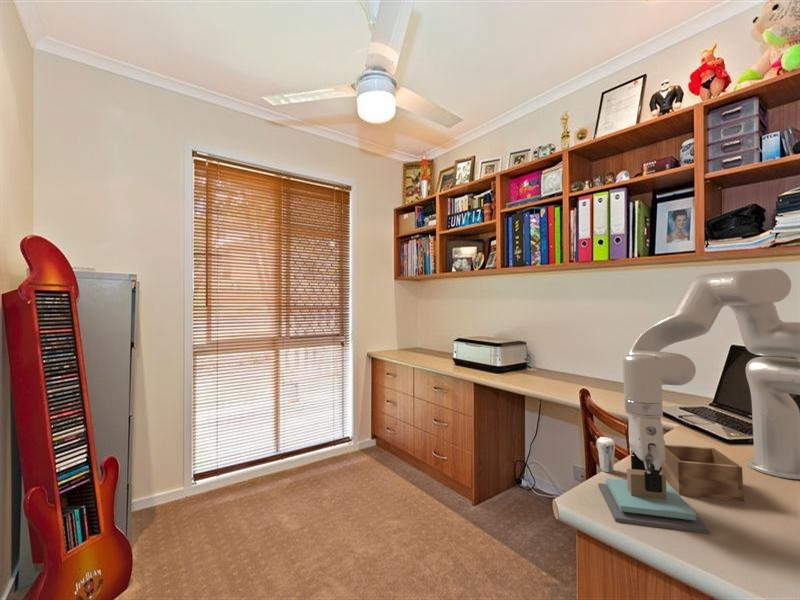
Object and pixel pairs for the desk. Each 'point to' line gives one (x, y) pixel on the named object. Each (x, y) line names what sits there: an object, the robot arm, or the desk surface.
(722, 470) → the storage box
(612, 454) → the milkshake
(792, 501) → the desk surface
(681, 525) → the desk mat
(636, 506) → the lid
